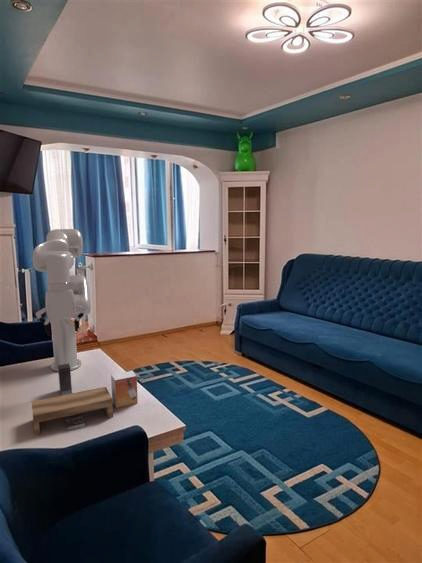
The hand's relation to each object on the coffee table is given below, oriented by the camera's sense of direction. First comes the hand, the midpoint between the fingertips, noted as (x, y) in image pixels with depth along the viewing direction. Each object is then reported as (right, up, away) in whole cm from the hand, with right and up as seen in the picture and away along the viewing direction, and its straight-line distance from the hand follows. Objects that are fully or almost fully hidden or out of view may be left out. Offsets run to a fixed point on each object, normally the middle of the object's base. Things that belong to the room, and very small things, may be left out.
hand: (62, 332), depth 145 cm
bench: (+9, -27, -15) cm, 32 cm away
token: (+11, -28, -19) cm, 35 cm away
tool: (+3, -24, -3) cm, 25 cm away
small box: (+24, -25, -4) cm, 35 cm away
